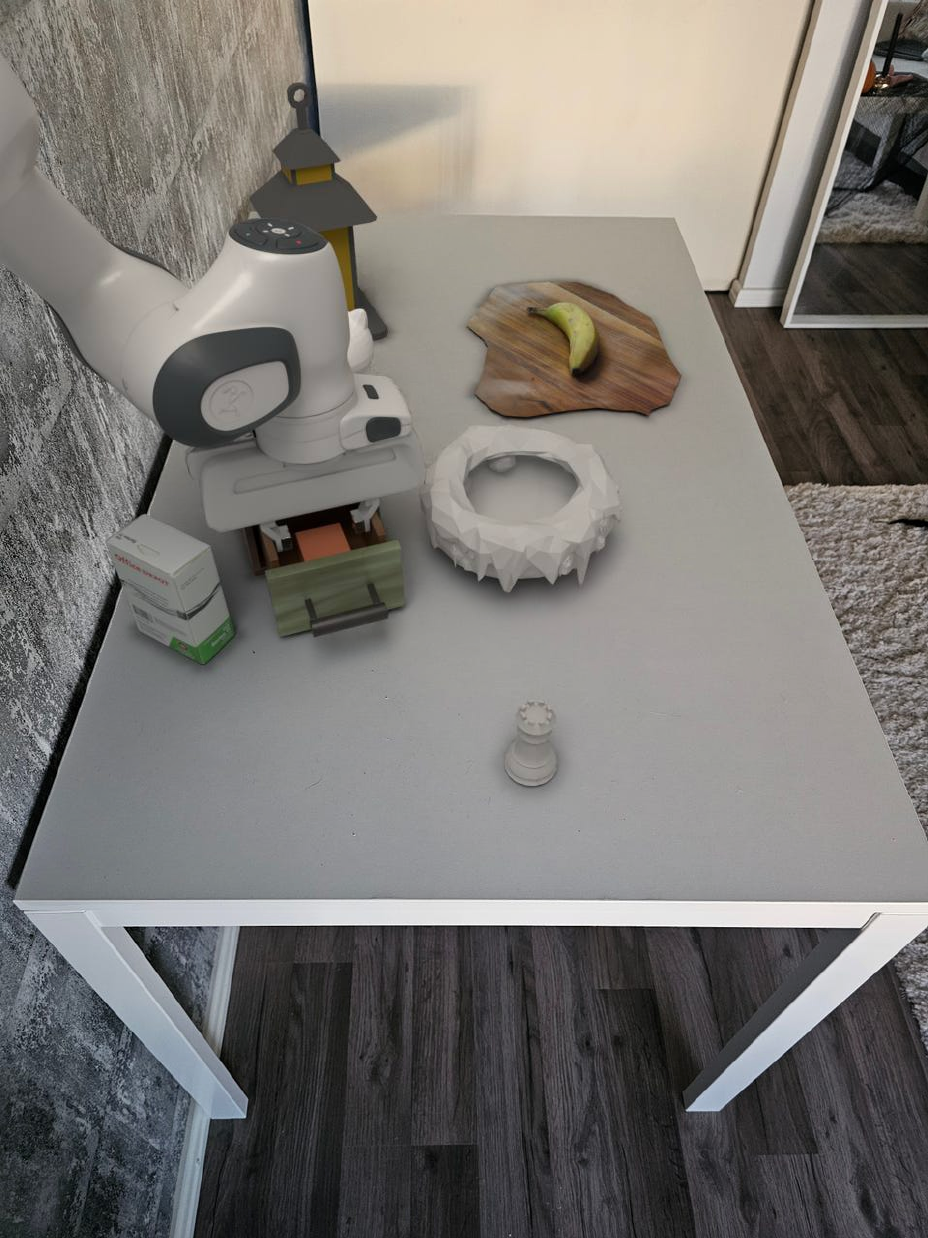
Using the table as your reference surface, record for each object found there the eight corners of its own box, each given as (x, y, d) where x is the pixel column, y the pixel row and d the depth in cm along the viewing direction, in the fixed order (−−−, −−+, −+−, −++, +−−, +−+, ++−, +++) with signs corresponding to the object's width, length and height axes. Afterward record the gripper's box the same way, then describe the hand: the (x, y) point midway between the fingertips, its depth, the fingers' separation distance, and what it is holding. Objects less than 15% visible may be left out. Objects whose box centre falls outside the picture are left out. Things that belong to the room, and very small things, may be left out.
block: (310, 596, 88) (305, 563, 85) (300, 565, 91) (294, 532, 88) (355, 585, 90) (351, 552, 86) (343, 555, 92) (339, 522, 89)
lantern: (263, 308, 129) (223, 72, 107) (357, 289, 133) (337, 57, 111) (290, 358, 120) (253, 112, 98) (390, 336, 124) (376, 95, 102)
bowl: (385, 584, 92) (379, 509, 85) (459, 467, 105) (460, 393, 98) (580, 642, 87) (592, 567, 80) (634, 512, 100) (648, 437, 93)
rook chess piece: (561, 785, 77) (570, 730, 71) (509, 792, 76) (514, 738, 70) (549, 741, 80) (557, 685, 74) (499, 748, 79) (503, 692, 73)
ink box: (238, 634, 88) (214, 544, 79) (202, 667, 85) (173, 578, 76) (172, 599, 91) (142, 508, 82) (135, 630, 88) (100, 539, 79)
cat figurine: (312, 448, 107) (296, 334, 96) (304, 389, 116) (288, 277, 104) (387, 440, 109) (380, 326, 97) (374, 382, 117) (366, 270, 106)
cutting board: (700, 415, 112) (706, 389, 110) (482, 429, 110) (482, 402, 107) (632, 278, 136) (636, 253, 133) (451, 287, 134) (451, 262, 131)
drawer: (417, 636, 86) (415, 579, 81) (289, 670, 84) (277, 613, 78) (367, 519, 98) (362, 461, 92) (252, 545, 95) (239, 486, 89)
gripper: (185, 463, 72) (219, 585, 82) (430, 414, 77) (433, 535, 87) (174, 419, 76) (207, 540, 86) (408, 374, 81) (413, 494, 91)
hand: (322, 537), depth 87 cm, fingers open, 6 cm apart
